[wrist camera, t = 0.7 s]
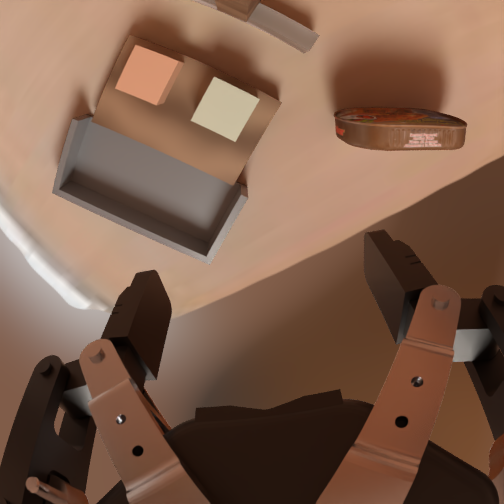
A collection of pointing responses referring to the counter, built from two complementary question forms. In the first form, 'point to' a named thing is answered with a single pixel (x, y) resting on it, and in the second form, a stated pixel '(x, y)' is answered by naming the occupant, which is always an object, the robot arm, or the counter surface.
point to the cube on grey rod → (266, 21)
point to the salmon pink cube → (149, 75)
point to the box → (146, 190)
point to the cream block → (225, 109)
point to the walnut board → (183, 116)
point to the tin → (399, 129)
